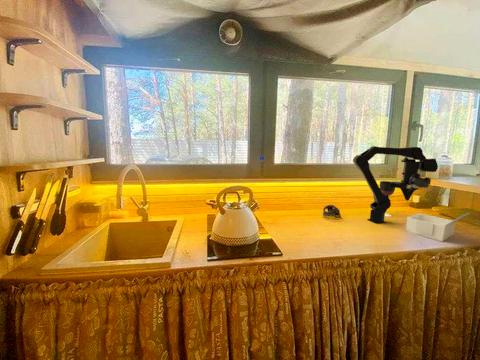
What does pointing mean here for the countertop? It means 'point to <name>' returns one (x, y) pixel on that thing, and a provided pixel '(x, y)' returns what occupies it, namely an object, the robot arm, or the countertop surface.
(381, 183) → the wineglass
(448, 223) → the far flap
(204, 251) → the countertop surface
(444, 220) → the carton
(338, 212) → the dark glossy dome
